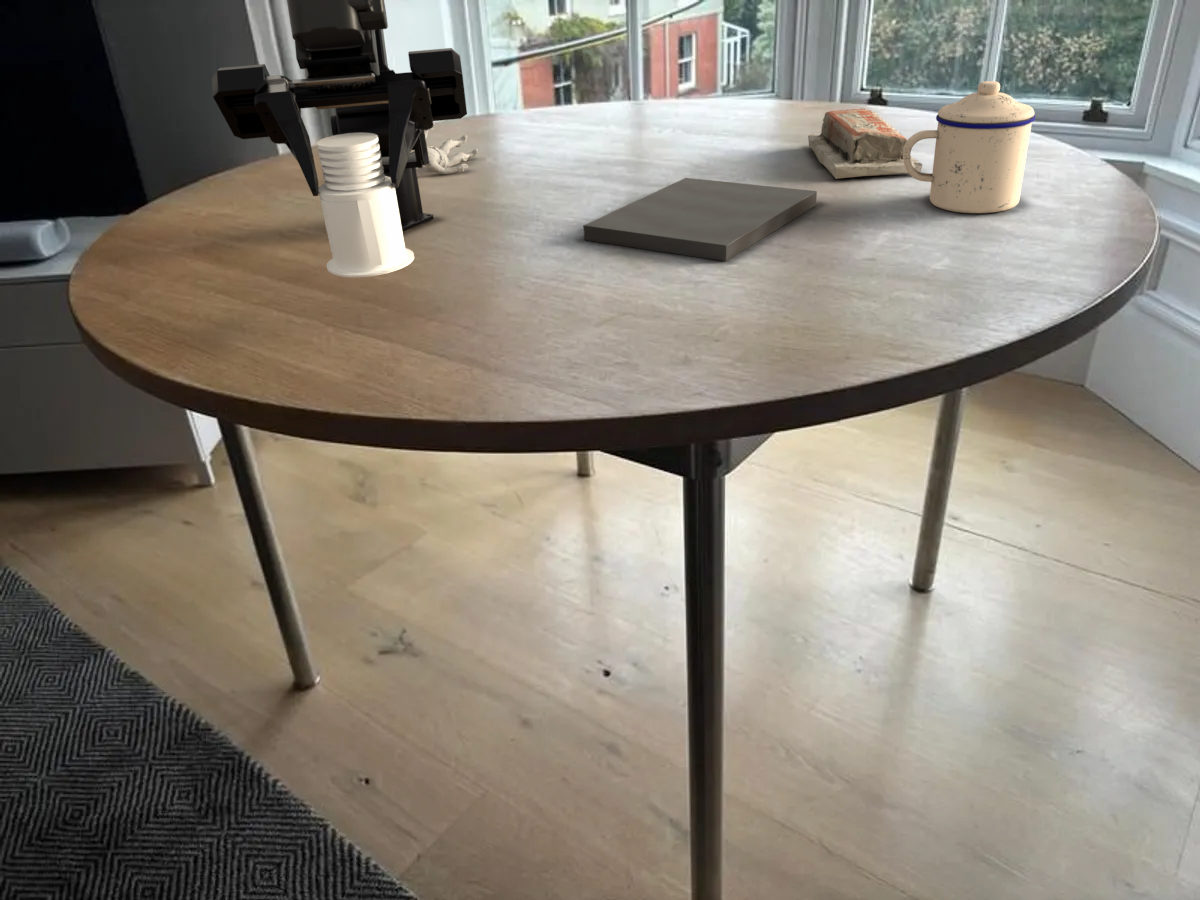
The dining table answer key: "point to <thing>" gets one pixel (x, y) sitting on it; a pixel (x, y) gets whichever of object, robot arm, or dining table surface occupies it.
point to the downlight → (360, 208)
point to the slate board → (701, 218)
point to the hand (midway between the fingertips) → (354, 189)
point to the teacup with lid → (977, 152)
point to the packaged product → (859, 145)
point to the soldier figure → (442, 162)
